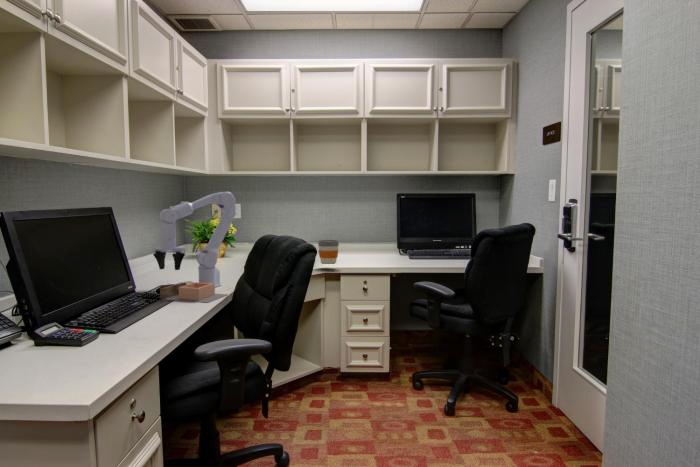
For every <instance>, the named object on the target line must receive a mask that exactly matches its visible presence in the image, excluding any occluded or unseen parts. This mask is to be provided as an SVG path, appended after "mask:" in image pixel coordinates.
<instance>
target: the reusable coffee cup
mask: <svg viewBox="0 0 700 467" xmlns="http://www.w3.org/2000/svg"><path fill="white" fill-rule="evenodd" d="M317 242H318V243H317V244H318V256H319V258H320V260H319V261H320V264H321V263H322V264H335V263H336V264H337V259H338V255H339V240H336V239H325V240H324V239H322V240H318V241H317Z"/></svg>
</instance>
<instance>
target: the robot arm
mask: <svg viewBox="0 0 700 467" xmlns="http://www.w3.org/2000/svg"><path fill="white" fill-rule="evenodd" d="M236 201H237V200H236V198H235V196H234V194H233V193H232V192H230V191H219V192H215V193H211V194H209V195H206V196H203V197H201V198H199V199H197V200H194V201H192V202H190V201H180V202H179V204H176V205H171V206H169V208H166V209H163V210H161V211H160V213H159V216H158V217H159V220H160V222H161V224H160V226H161V227H160V235H161V236H160V237H161V238H160V239H161V247H160V246H158V247H157V246H156V247H152V254H153V257H154V259H155V260H156V263H157V264H158V267H159V270H164V269H165V267H166V266H165V265H166V255H167V253H170V254H171V253H172V254H171V256H172V257H173V262H174V270H175V271H179V270H180V269H181V266H182V263H183V262H182V261H183V259H184V258H185V256H186V247H177V227H176V221H177V220H180V219H183V218H185V217H187V216H190V215H192V214H194V211H195V210H196V209H199V208H202V207H205V206H207V205H210V204H213V205H217V206H218V208H219V209H220V211H221V213H222V215H221V217H220V219H219V220H218V222H217V225H216V227H215V229H214V231H213V232H212V235H211V237H210V239H209V241H208V243H207V245H205V247H204V248H203V249H202V251H200V253H198V255H197V256H196V261H197V263H198V267H197V268H198V283H214V284H215V288H218V287H219V286H222V283H221V272H220V271H221V270H220V269H219V268H218V267H217V266H216V265H217V262H218V256H219V249H220V246H221V245H222V243H223V241H224V239H225V237H226V235H227V234H228V233H227V232H228V231H229V229H230V227H231V225H232V222H233V221H234V219H235V217H236Z"/></svg>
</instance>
